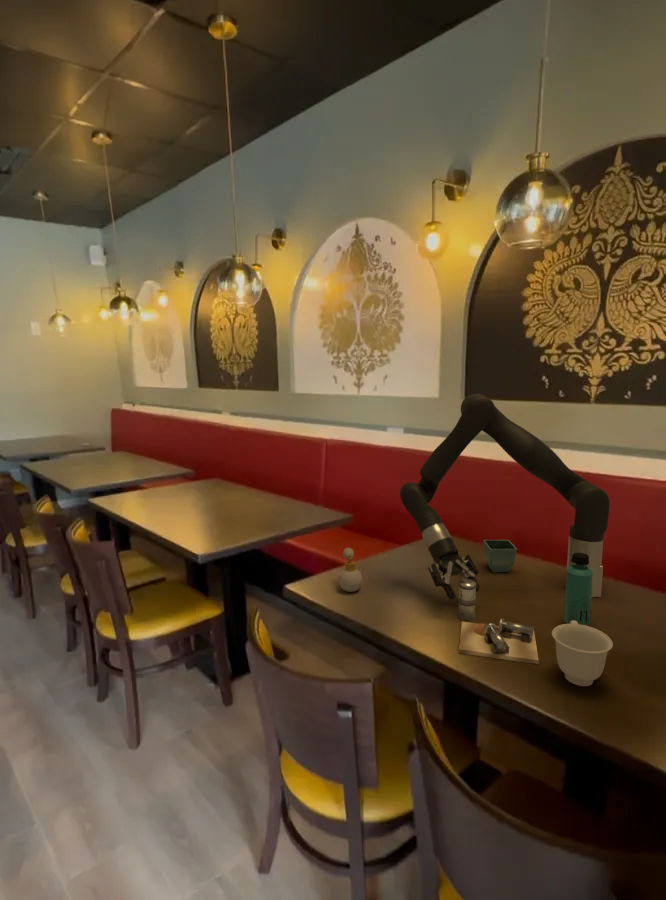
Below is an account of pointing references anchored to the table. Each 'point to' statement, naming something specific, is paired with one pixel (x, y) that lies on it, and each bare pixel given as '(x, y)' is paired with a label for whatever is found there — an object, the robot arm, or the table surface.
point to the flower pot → (499, 554)
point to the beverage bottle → (578, 590)
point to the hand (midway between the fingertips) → (465, 594)
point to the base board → (476, 645)
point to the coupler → (467, 599)
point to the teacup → (581, 652)
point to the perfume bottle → (350, 573)
